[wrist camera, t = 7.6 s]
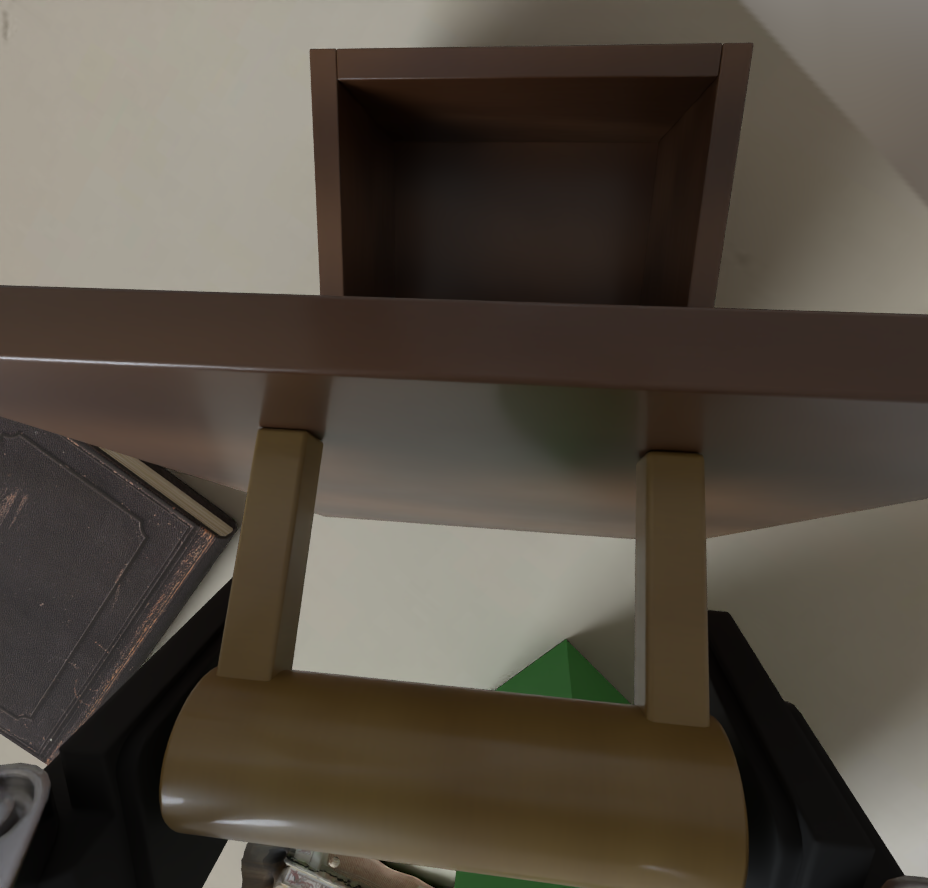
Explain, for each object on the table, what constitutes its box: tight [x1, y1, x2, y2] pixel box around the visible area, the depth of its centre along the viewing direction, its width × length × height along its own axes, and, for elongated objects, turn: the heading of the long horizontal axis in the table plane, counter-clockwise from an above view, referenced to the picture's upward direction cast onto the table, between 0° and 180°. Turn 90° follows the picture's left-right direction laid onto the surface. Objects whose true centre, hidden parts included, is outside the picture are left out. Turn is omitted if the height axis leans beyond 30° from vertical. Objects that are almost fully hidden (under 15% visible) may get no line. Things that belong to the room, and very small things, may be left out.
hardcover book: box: [0, 417, 237, 765], centre depth 35 cm, size 16×23×2 cm
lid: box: [0, 285, 928, 888], centre depth 12 cm, size 17×14×6 cm
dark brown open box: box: [310, 43, 753, 308], centre depth 23 cm, size 16×14×9 cm
